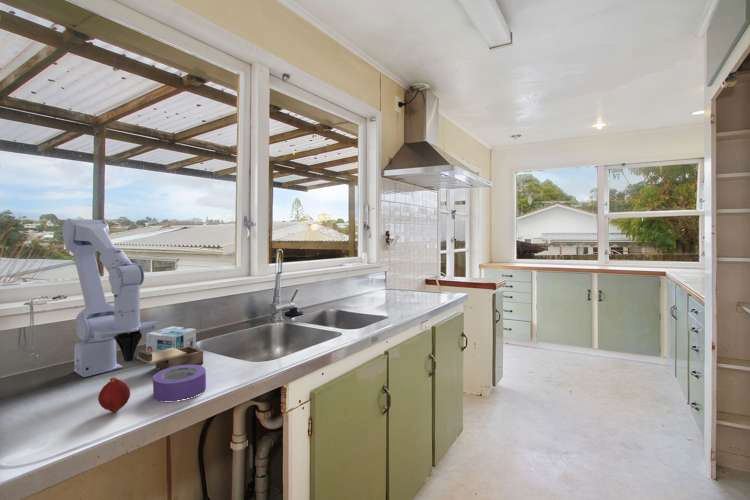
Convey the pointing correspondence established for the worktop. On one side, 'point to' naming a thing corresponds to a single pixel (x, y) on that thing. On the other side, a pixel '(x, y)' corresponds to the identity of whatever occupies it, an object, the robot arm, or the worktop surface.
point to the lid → (159, 355)
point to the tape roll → (179, 382)
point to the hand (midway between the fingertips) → (128, 360)
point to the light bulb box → (170, 339)
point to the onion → (114, 395)
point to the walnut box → (183, 359)
